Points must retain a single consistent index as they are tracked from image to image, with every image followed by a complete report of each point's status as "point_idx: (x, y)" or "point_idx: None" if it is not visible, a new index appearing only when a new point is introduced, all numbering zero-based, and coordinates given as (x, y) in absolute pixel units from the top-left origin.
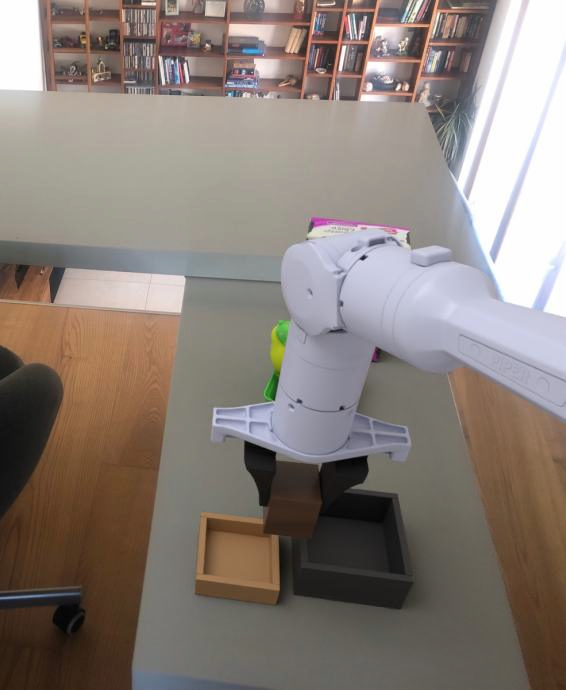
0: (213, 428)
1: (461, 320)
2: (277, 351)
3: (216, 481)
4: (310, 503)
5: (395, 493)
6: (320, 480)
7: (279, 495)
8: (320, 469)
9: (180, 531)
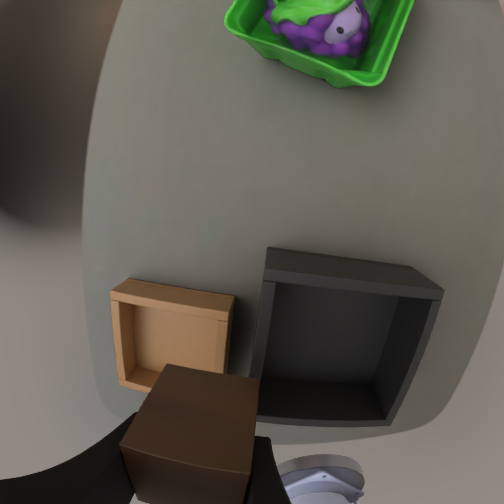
0: None
1: None
2: None
3: (151, 190)
4: None
5: (441, 289)
6: (248, 492)
7: (152, 502)
8: (252, 483)
9: (106, 284)
